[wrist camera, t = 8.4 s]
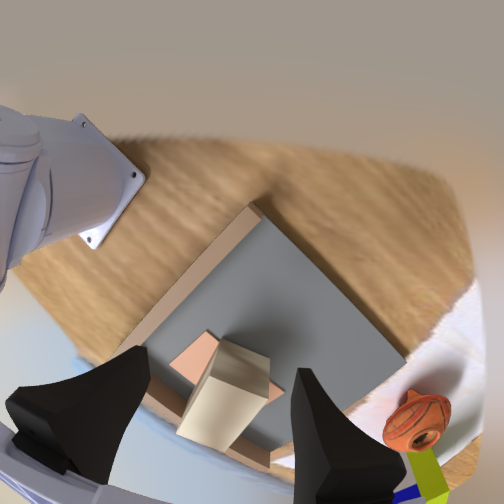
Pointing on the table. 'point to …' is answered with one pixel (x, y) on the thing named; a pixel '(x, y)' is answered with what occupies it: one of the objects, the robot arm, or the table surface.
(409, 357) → the table surface
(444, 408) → the pot
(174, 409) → the tray
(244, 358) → the birch block
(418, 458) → the puzzle toy
